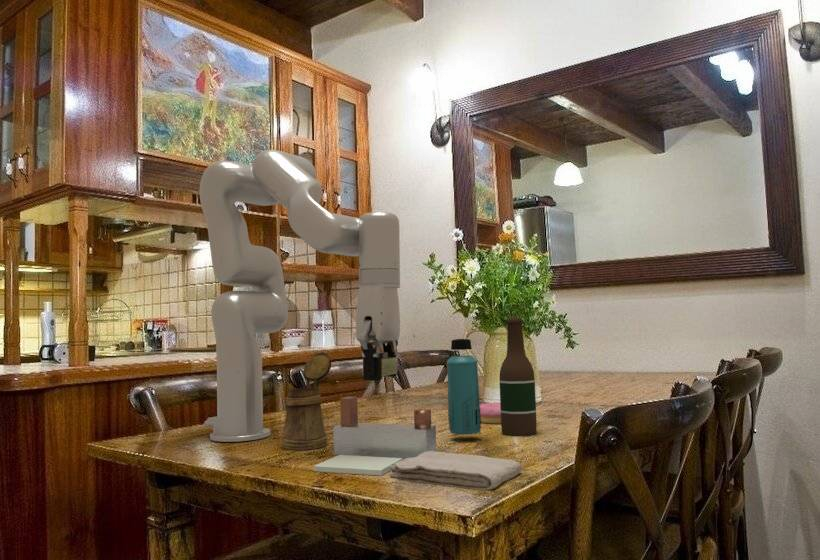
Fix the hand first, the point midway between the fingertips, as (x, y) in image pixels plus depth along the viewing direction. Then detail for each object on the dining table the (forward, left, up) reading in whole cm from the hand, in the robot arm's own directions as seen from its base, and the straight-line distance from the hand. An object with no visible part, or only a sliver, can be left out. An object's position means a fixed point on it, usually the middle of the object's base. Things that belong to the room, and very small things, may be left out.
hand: (380, 377), depth 115 cm
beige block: (0, 0, 0) cm, 0 cm away
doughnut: (+11, +41, -14) cm, 45 cm away
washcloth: (+18, -12, -14) cm, 26 cm away
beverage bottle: (+11, +17, -14) cm, 24 cm away
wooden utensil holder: (-19, +6, -14) cm, 24 cm away
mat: (0, -11, -14) cm, 17 cm away
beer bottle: (+20, +26, -14) cm, 35 cm away
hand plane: (0, 0, -14) cm, 14 cm away
